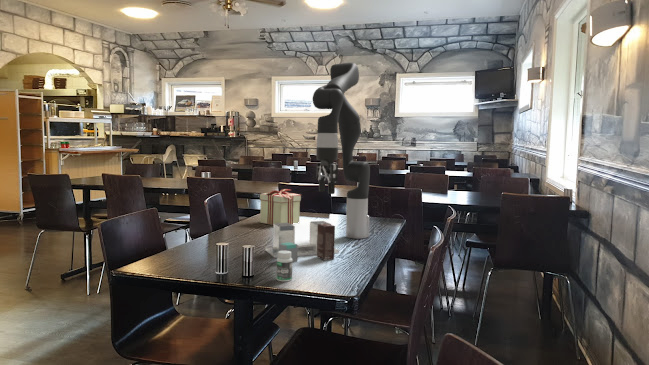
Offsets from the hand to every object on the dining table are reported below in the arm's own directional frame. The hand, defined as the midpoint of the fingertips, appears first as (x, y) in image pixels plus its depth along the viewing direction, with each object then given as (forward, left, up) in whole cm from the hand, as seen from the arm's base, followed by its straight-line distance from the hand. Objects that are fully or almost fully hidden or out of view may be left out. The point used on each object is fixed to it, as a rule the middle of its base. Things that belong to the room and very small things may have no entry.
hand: (326, 192), depth 169 cm
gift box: (-8, -76, -24) cm, 80 cm away
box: (0, 0, -24) cm, 24 cm away
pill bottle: (+22, +21, -24) cm, 39 cm away
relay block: (+14, 0, -24) cm, 27 cm away
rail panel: (+4, -12, -23) cm, 27 cm away
